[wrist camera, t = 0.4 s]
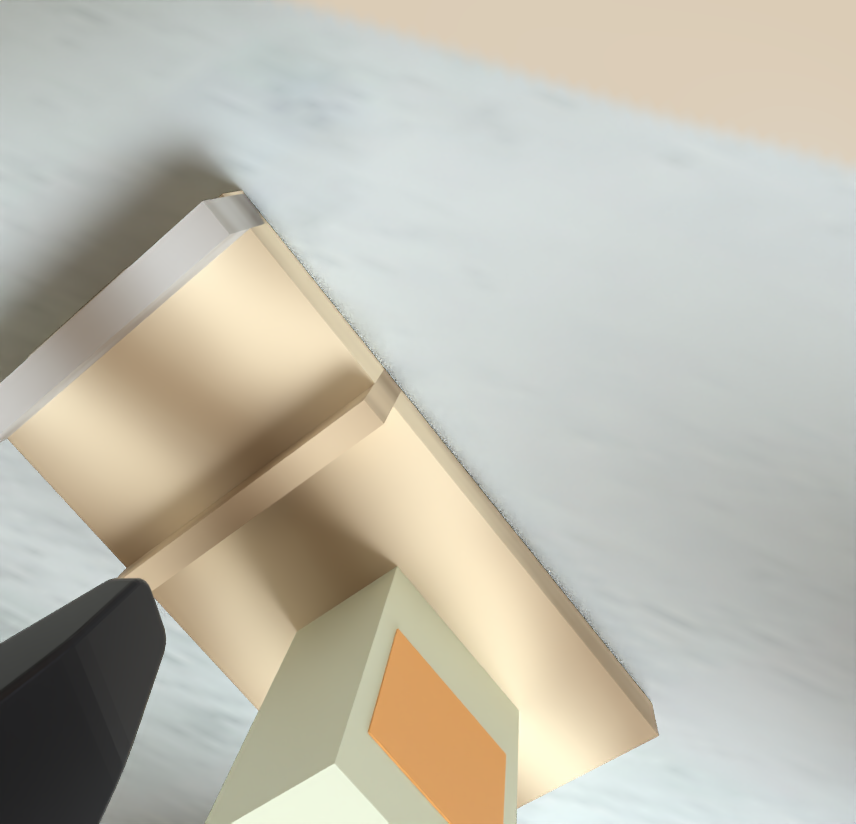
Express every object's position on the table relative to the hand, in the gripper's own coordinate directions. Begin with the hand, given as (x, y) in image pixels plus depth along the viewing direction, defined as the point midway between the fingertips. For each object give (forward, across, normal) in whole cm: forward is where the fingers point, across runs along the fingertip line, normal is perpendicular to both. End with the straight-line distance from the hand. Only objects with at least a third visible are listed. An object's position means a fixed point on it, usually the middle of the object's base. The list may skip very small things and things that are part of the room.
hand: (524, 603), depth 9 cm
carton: (+11, +5, +12) cm, 17 cm away
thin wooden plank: (+13, +7, +9) cm, 17 cm away
